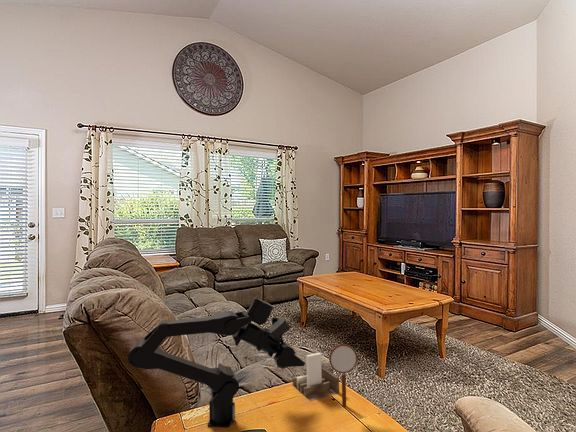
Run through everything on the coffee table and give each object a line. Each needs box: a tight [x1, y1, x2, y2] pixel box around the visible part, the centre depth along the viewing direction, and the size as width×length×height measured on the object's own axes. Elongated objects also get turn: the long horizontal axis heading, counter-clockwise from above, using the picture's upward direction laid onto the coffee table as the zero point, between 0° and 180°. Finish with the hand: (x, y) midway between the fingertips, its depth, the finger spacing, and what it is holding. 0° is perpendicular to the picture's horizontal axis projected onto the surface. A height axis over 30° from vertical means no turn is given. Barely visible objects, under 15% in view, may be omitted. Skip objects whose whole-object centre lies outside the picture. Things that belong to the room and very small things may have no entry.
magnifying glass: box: [329, 343, 358, 408], centre depth 104 cm, size 9×2×20 cm, turn 94°
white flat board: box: [305, 352, 322, 387], centre depth 114 cm, size 5×1×12 cm, turn 116°
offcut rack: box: [291, 365, 340, 402], centre depth 115 cm, size 11×13×6 cm
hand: (299, 358), depth 107 cm, fingers open, 9 cm apart
